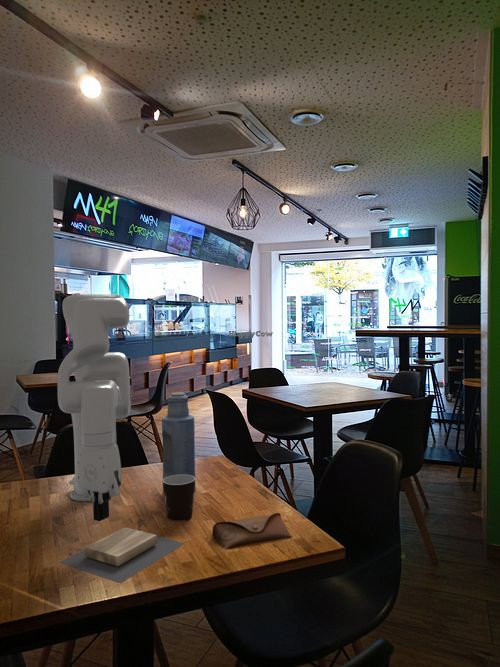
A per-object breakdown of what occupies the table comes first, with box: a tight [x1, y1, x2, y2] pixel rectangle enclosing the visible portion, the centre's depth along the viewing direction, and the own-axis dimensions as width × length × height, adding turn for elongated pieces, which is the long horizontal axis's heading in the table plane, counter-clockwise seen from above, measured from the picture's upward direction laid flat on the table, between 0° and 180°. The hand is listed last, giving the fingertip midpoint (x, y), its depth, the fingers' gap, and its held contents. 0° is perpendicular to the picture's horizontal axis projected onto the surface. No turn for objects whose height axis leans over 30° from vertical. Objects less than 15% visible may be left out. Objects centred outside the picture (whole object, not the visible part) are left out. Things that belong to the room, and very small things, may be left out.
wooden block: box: [83, 526, 158, 566], centre depth 112 cm, size 2×12×10 cm
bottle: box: [161, 391, 196, 494], centre depth 152 cm, size 10×10×30 cm
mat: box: [59, 535, 185, 584], centre depth 112 cm, size 18×20×1 cm
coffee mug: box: [161, 474, 196, 522], centre depth 134 cm, size 12×9×10 cm
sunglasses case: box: [212, 512, 293, 550], centre depth 120 cm, size 18×7×7 cm, turn 112°
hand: (101, 518), depth 115 cm, fingers closed
